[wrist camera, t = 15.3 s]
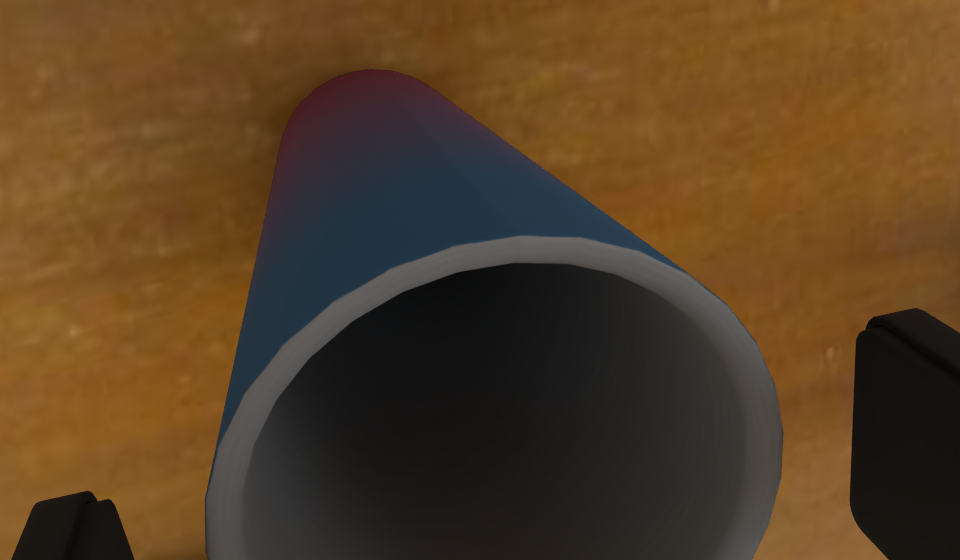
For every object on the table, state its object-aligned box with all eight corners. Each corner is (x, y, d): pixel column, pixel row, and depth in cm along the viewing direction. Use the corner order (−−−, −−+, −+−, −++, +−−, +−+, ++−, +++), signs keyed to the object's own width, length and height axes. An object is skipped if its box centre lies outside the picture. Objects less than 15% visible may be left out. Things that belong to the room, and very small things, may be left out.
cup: (499, 275, 26) (749, 687, 12) (254, 294, 25) (235, 778, 11) (503, 29, 23) (825, 214, 10) (228, 36, 22) (164, 260, 8)
